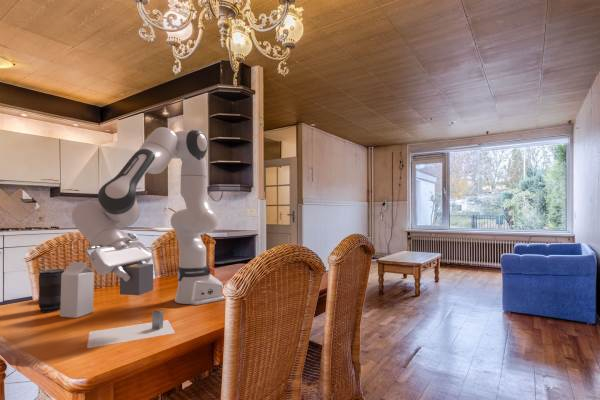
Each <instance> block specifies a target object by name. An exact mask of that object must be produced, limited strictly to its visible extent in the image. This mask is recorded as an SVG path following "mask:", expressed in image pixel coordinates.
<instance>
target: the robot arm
mask: <svg viewBox="0 0 600 400" xmlns="http://www.w3.org/2000/svg"><path fill="white" fill-rule="evenodd" d="M208 147H209V142H208V138H207V137H206V135H205V133H204V132H202V131H201V130H197V129H196V130H195V129H191V130H178V131H173V130H172V129H170V128H168V127H166V126H165V127H164V126H162V127H157V128H155V129H154V130H153V131H152V132H151V133H150V134H149V135H148V136H147V137H146V138H145V140H144V141H143V143H142V144H141V146H140V148H139V149H138V150H137V151H136V152H134V154H133V155H132V156H131V157H130V159H129V160H128V161H127V162H126V164H125V165H124V166H123V167H122V169H120V171H119V172H118V174H116V176H114V177H113V178H112V179H110V180H109V181H108V182H105V183H104V184H102V186H101V187H100V189H99V190H98V194H97V200H91V199H86V200H83V201H81V202H79V203H78V204H77V205H76V206H75V207H74V208H73V210H72V212H71V219H72V222H73V224H74V226H75V228H76V229H77V230H78V231H79V233H80V234H81V235H82V236H83V237H84V238H86V239H87V241H88V242H89V244H90V246H87V248H86V249H85V251H84V253H85V254H86V256H87V257H88V260H89V263H90V264H91V266H92V267H93V270H95V272H96V273H97V274H99V275H101V276H103V275H108V274H112V273H113V274H114V275H115V276H117V277H119V278H120V277H121V278H123V279H124V281H130V280H131V279H132V275H131V274H130V273H127V272H125V271H124V270H122V269H123V268H122V266H127V265H131V264H149V262H150V261H151V260H152V259H153V254H152V252H151V251H150V250H149V249H148V247H147V246H146V245H145V244H144V243H143V242H141V241H140V240H139V239H140V238H139V236H138V235H137V234H135V233H130V232H126V231H124V229H125V228H129V227H130V226H131V225H133V224H135V223H136V222H137V220H138V219H139V217H140V210H139V205H138V202H137V201H138V200H137V187H138V185H139V184H140V182H141V181H142V180H143V178H144V176H145V175H146V174H147V173H148V174H151V175H158V174H161V173H163V172H164V171H165V169H166V168H167V167H168V165H169V164H170V162H171V160H172V159H180V161H181V167H180V188H179V189H180V190H179V192H180V196H181V197H182V198H183V201H184V203H185V207H186V208H182V209H179V210H177V211H175V212H174V213H173V214H172V215H171V217H170V226H171V228H172V229H173V230H174V232H175V236H176V238H177V243H178V252H179V253H178V255H179V257H178V258H179V262H178V264H179V266H178V268H177V280H178V284H177V290H176V294H175V299H174V302H175V303H176V304H184V305H185V304H186V305H194V306H198V305H204V304H208V303H213V302H219V301H224V300H226V299H225V297H224V296H223V294H222V289H223V287H224V285H223V282H222V281H221V280H220V279H218V278H217V277H215V276H214V275H213V274H211V273H214V271H215V268H214V267H212V266H209V265H207V246H206V245H205V244H204V242H203V239H202V237H201V236H202V235H206V234H207V235H208V234H210V233H212V232H214V231H215V230H216V228H217V226H218V223H219V222H218V217H217V216H218V215H217V214H216V213H215V211H214V210H213V209H212V207H211V204H210V201H209V196H208V168H207V167H208V164H207V160H206V153H207V152H208Z"/></svg>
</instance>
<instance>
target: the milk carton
mask: <svg viewBox="0 0 600 400" xmlns="http://www.w3.org/2000/svg"><path fill="white" fill-rule="evenodd" d="M94 282H95V271H94V270H93V269H92V268H90V267H89V266H88V264H87V262H86V261H85V262H80V261H78V262H77V261H75V262H74V261H69V266H67V268H66V269H64V272H63V273H62V275H61V306H60V310H59V312H60V313H59V316H60V318H61V317H62V318H75V319H77V318H80V317H83V316H86V315H88V314H91V313H94V290H95V289H94V287H95V283H94Z"/></svg>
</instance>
